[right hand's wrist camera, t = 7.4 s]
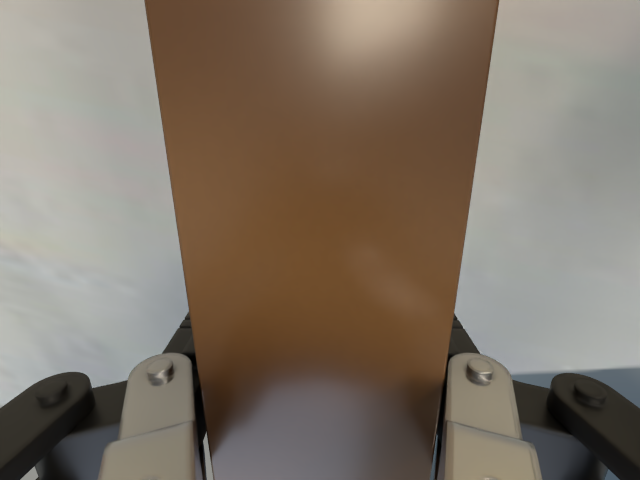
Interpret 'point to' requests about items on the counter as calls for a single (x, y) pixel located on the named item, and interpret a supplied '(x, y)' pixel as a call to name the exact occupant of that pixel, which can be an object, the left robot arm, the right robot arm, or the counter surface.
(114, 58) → the counter surface
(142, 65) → the counter surface
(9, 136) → the counter surface
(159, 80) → the post
